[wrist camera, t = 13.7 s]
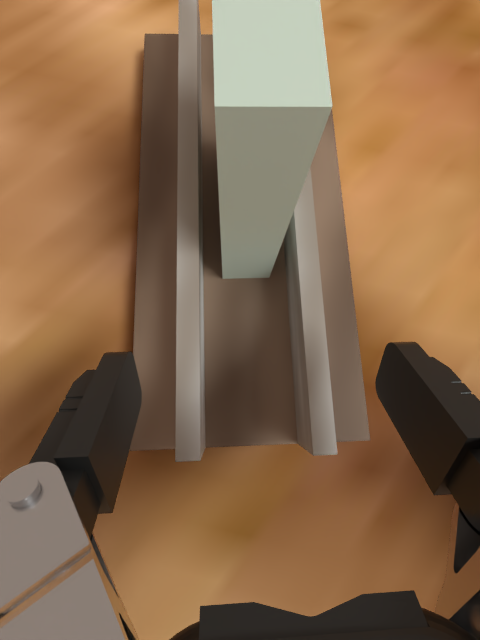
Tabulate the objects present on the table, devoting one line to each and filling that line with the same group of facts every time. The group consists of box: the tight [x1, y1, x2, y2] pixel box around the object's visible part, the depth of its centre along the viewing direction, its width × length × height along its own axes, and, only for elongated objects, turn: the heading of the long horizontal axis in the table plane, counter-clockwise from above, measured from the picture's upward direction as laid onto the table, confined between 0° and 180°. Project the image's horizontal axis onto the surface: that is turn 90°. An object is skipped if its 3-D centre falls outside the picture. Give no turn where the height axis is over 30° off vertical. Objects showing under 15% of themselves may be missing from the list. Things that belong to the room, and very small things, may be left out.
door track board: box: [130, 0, 370, 462], centre depth 18 cm, size 12×26×4 cm, turn 2°
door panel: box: [212, 0, 332, 279], centre depth 13 cm, size 3×8×11 cm, turn 2°
